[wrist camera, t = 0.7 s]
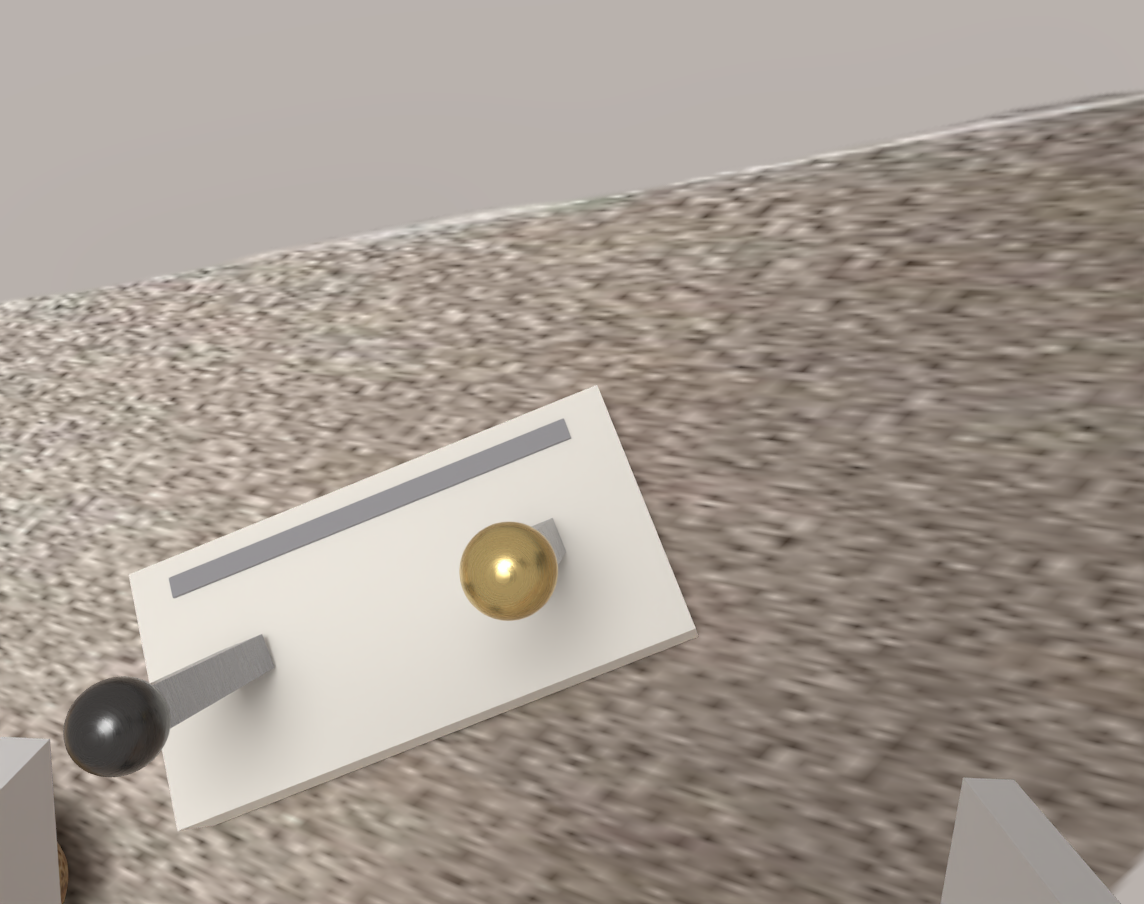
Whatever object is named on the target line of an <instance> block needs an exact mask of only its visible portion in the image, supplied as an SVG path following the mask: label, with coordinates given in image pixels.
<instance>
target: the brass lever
mask: <svg viewBox="0 0 1144 904" xmlns="http://www.w3.org/2000/svg"><path fill="white" fill-rule="evenodd" d="M565 553H566V550H565V547H564V545H563V542H562V540H561V537H560V535H559V532H558V530H557V527H556V525H555V522H554V520H553V518H551V519H549V520H546V521H544V522H541V523H539V524H536V525H534V526H529V525H526V524H523V523H519V522H500V523H495V524H492V525H490V526H488V527H485V528H484V529H482V530H481V531H479V532H478V533H477V534H476V535H475V536H474V537H473V538H472V539H471V540H470V541H469V543H468V544H467V546H466V547H465V549H464V551H463V554H462V557H461V561H460V568H459V575H460V582H461V586H462V589H463V591H464V594H465V596H466V597H467V599H468V600H469V602H470V603H471V604H472V605H473V606H474V607H475V608H476V609H477V610H478V611H480V612H481V613H482V614H484V615H486V616H488V617H491V618H493V619H497V620H502V621H515V620H520V619H523V618H526V617H529V616H531V615H533V614H534V613H536V612H537V611H539V610H540V609H541V608H542V607H543V606H544V605H545V604H546V603H547V602H548V600H549V599H550V597H551V596H552V594H553V592H554V589H555V587H556V583H557V578H558V564H559V562H560V561H561V559H562V558H563V556H564V555H565Z"/></svg>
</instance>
